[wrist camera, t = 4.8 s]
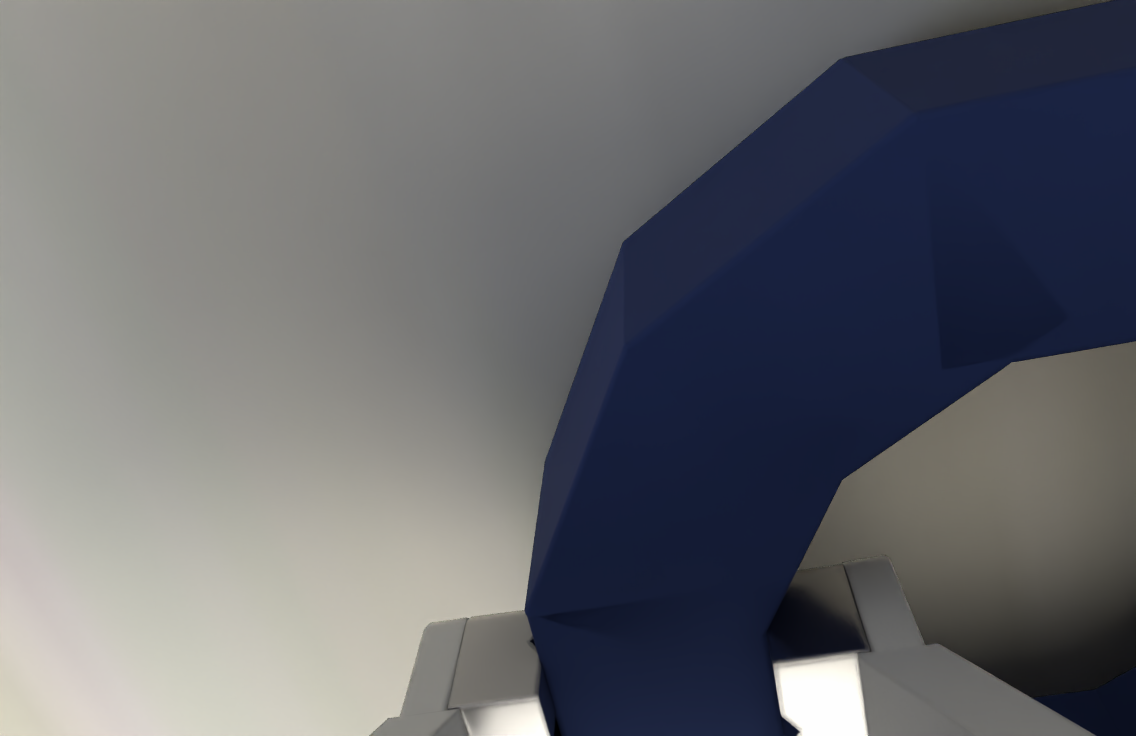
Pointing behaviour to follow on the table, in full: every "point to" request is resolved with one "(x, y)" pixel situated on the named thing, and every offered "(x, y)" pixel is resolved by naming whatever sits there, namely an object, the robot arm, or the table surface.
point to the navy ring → (823, 351)
